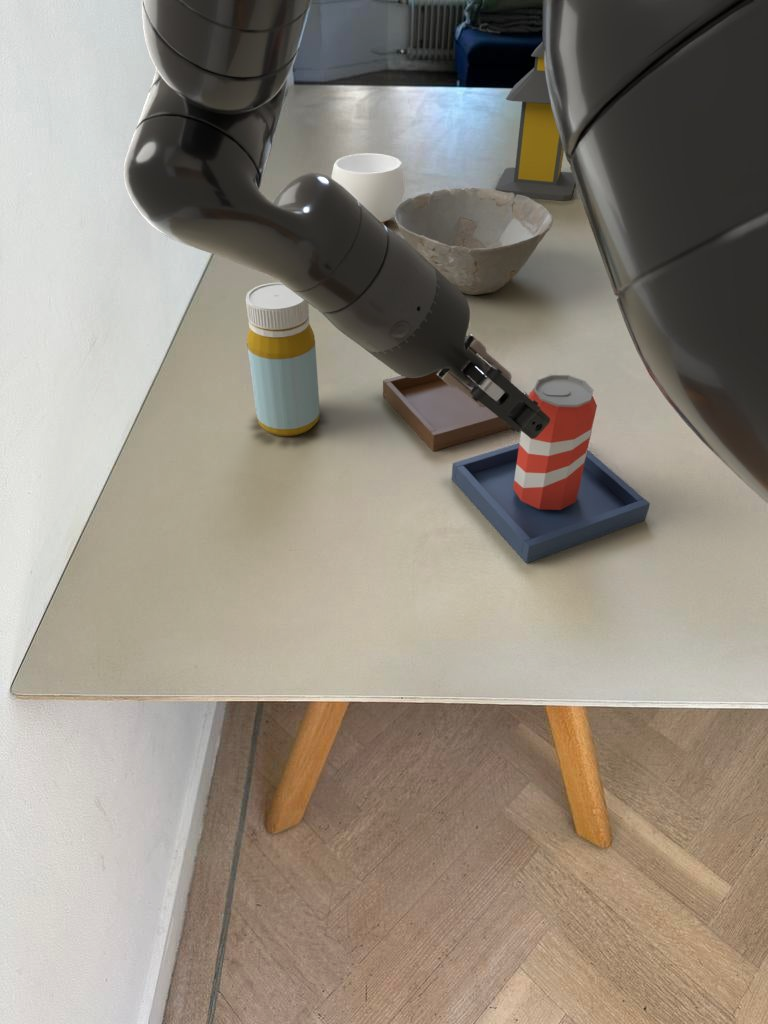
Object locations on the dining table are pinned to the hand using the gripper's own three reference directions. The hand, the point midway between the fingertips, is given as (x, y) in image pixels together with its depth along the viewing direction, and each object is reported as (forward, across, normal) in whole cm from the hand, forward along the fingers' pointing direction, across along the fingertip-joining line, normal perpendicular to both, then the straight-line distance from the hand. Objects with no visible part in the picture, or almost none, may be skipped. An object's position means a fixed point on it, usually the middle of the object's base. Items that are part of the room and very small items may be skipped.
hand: (511, 402), depth 65 cm
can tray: (+13, 0, +5) cm, 14 cm away
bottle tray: (+13, +18, +5) cm, 23 cm away
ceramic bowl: (+26, +47, -8) cm, 55 cm away
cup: (+24, +76, -6) cm, 80 cm away
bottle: (0, +24, +18) cm, 30 cm away
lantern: (+50, +79, -32) cm, 99 cm away
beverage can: (+13, 0, +5) cm, 14 cm away
